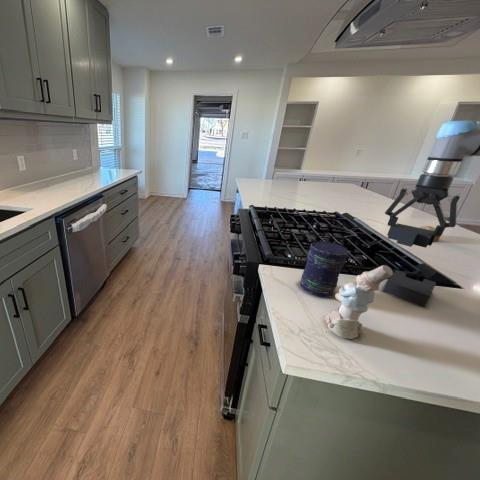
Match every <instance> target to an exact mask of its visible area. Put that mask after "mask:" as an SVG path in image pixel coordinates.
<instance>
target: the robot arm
mask: <svg viewBox="0 0 480 480" xmlns="http://www.w3.org/2000/svg"><path fill="white" fill-rule="evenodd" d="M466 156H467V157H480V121H479V120H448V121H445V122H443V123H442V124H441V126H440V128H439V130H438V131H437V134H436V136H435V137H434V141H433V144H432V147H431V149H430V152H429V153H428V157H427V159H426V160H425V162H424V165H423V168H422V170H421V172H422V174H420V175H419V178H418V180H417V182H416V184H415V187H413V188H407V187H403V188H401V189H400V191H399V195H398V196H397V197H396V198H395V199H394V201H393V202H392V203H391V205H390V206H389V207H388V208H387V209H386V210H385V211H384V214H385V215H386V216H389V219H388V222H387V226H389V229H388V232H387V234H386V235H387V236H388V235H389V233H390V230H391V228H392V227H393V226H394V225H396V224H397V223H398V220H399V214H401V213H402V212H404V211H405V210H407V209H408V208H409V207H411V206H412V205H414V204H415V203H417V204H425V205H429V206H430V205H432V206H433V208H434V211H435V214H436V217H437V220H438V223H439V225H438V224H437V225H436V226H435V231H434V233H433V235H432V237H431V239H430V241H429V243H428V245H427V246H428V247H429V246H430V247H431V246H432V245H433V243H434V242H433V241H434V239H435V237H436V236H438V237H440V238H441V237H442V235H443V233H444V231H445V230H446V229H447V228H455V227H456V226H457V216H458V215H457V213H458V202H459V200H460V198H461V195H460V194H452V193H449V190H450V187H451V185H452V183H453V181H454V176H455V175H456V174H457V173H458V170H459V169H460V166H461V163H462V162H463V160H464V158H465V157H466ZM410 193H411V195H412V196H413V198H412V199H411V200H410V201H408V202H407V203H405V204H403V205H402V206H401V207H400V208H399V209H397V210H396V211H394V209H396V207H397V206H398V205H399V204H400V202H401V201H402V200H403V199H404V198H405V196H408V195H409V194H410ZM446 198H447V199H448V202H449V203H450V204H449V222H447V219H446V216H445V214H444V210H443V208H442V207H443V206H442V204H441V201H442V200H445V199H446ZM393 211H394V212H393Z"/></svg>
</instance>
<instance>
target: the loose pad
mask: <svg viewBox="0 0 480 480" xmlns="http://www.w3.org/2000/svg"><path fill="white" fill-rule="evenodd" d="M433 233H434V231H431V230H427V229H422V228H418V227H416V226H412V225H407V224H403V223H399V222H396V225H394V226H393V227H392V228H391V230H390V233H389V235H387V239H390V240H394V241H396V244H399V245H402V246H406V247H410V248H412V246H418V247H421V248H424V249H425V248H427V247H428V246H429V245H428V243H429V241H430V239H431V237H432V235H433Z"/></svg>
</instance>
